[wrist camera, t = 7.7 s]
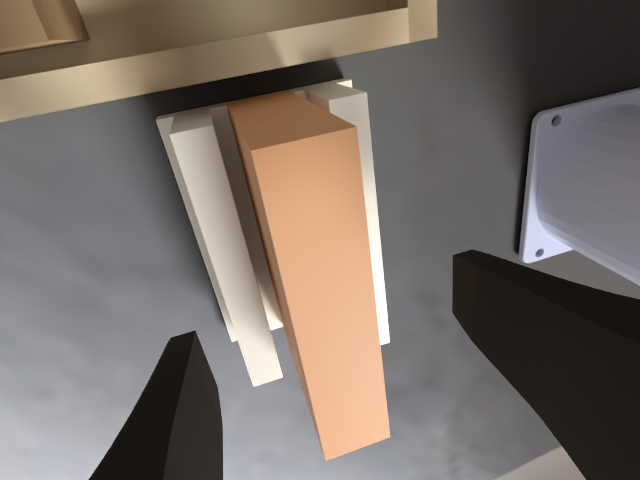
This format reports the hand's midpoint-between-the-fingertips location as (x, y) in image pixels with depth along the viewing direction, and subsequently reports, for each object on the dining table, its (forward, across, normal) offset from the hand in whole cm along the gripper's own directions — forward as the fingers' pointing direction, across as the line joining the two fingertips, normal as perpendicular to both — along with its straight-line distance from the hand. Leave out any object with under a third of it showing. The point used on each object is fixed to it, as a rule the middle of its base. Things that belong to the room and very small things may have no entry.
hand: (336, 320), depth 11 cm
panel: (+6, 0, 0) cm, 7 cm away
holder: (+7, 0, 0) cm, 7 cm away
